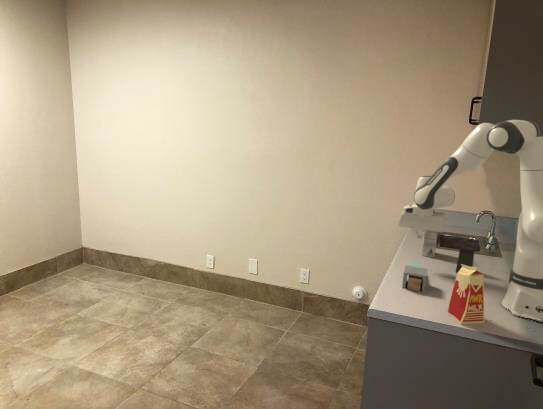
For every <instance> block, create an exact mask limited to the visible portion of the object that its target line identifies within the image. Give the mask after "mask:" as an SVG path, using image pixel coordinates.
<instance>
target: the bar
mask: <svg viewBox="0 0 543 409" xmlns="http://www.w3.org/2000/svg"><path fill="white" fill-rule="evenodd" d="M409 262H410V263H409V266H413V267H419V268H422V267H421V264H420V262H418V261H409ZM421 285H423V277H422V278H421Z"/></svg>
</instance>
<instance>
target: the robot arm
mask: <svg viewBox="0 0 543 409" xmlns="http://www.w3.org/2000/svg"><path fill="white" fill-rule="evenodd" d="M494 151H498V152H502V153H506V154H510V155H514V154H517V156H518V158H519V183H520V184H519V187H520V188H519V190H520V191H519V192H520V199H521V200H520V202H521V212H520V213H519V218H518V224H517V233H516V245H515V246H516V247H515V252H514V259H513V266H512V268H511V270H510V272H509V278H508V287H507V291H506V293H505V295H504V298H503V299H502V301H501V305H502V306H503V308H505V309H506V308H507V309H506V310H508V309H509V310H510V311H511V312H512V313H511V312H510V311H509V310H508V311H509V312H510V313H511V314H512V315H513V314H514V315H513V316H515V315H516V316H515V317H518V316H521V317H525V318H532V319H537V320H542V319H541V318H543V136H541V130H540V128H539V125H538V124H537V123H536V122H534V121H531V120H529V119H510V120H503V121H502V120H501V121H499V122H497V123H495V124H494V123H490V122H481V123H480V124H478V125H477V126H476V127H475V128H474V129H472V131H471V132H469V134H468V135H467V137H465V139H464V140H463V142H462V143H461V144H460V145H459V147H458V148H457V149H456V151H454V152H453V154H451V155H450V156H448V158H447V159H445V160H444V162H442V163H441V164H440V165H439V166H438V168H436V170H435V171H434V172H433V174H431V175H422V176H420V177H419V178H418V179H417V183H416V187H415V192H414V194H413V202H414V203H413V204H409V205H408V204H407V205H404V206H403V210H402V212H401V214H400V216H399V219H398V226H399V227H400V228H407V229H408V228H409V229H414V232H415V235H416V237H415V238H416V239H420V240H424V234H425V233H426V230H428V231H435V232H438V233H443V232H444V231H445V227H446V226H445V225H446V223H445V222H447V219H448V215H447V214H446V213H445V212H444V211H435V210H434V209H439V208H447V207H451V206H452V205H453V204H454V201H455V199H456V195H455V194H456V193H455V191H454V190H453V188H452V187H451V186H447V185H446V183H447V182H448V181H449V180H450V179H451V178H454V177H455V176H457V175H461V174H463V173H467V172H472V171H474V170H477V169H479V168H480V167H481V166H482V165H483V164H484V163H485V162H486V161H487V160H488V158H489V157H490V155H491V154H492V153H493V152H494ZM419 230H421V231H422V234H421V233H418V231H419ZM521 317H520V318H521ZM525 318H524V319H525Z"/></svg>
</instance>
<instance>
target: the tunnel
mask: <svg viewBox="0 0 543 409" xmlns="http://www.w3.org/2000/svg"><path fill="white" fill-rule="evenodd" d="M403 270H404V271H403V276H402V277H403V278H402V284H401V287H402V289H406V288H407V283H408V276H409V275H411V276H417V277H422V287H421V292H422V293H425V292H426V287H427V280H428V268H423V267H421V268H419V267H413V266H410V265H406V264H405V266H404V269H403Z"/></svg>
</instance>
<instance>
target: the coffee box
mask: <svg viewBox="0 0 543 409" xmlns="http://www.w3.org/2000/svg"><path fill="white" fill-rule="evenodd" d="M438 233H439V232H435V231H428V230H426V233H425V234H424V236H423V239H422V242H423V243H422V249H421V250H422V252H421V256H423V257H429V258H436V256H435V255H436V250H437V241H438V235H439V234H438Z"/></svg>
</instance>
